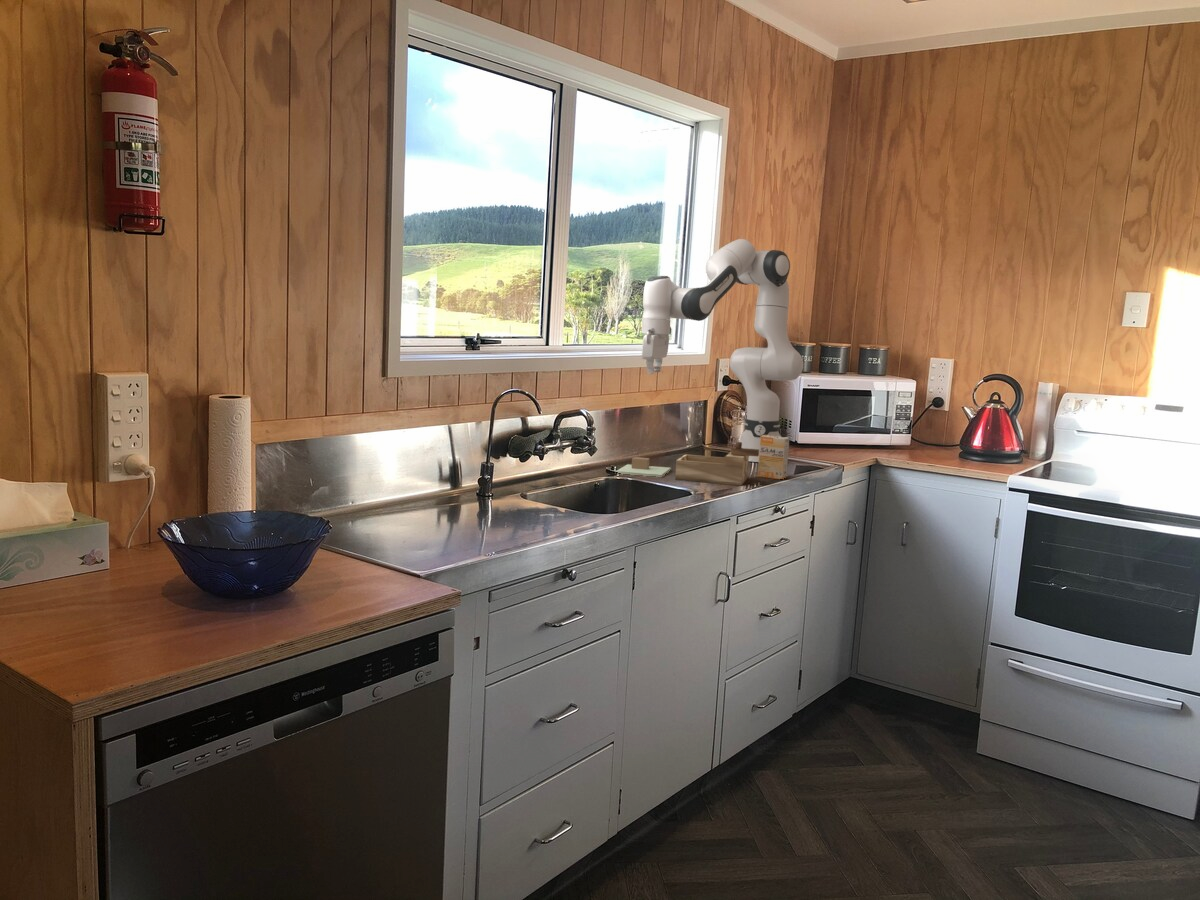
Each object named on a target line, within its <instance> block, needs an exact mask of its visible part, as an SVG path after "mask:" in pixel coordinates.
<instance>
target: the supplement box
mask: <svg viewBox="0 0 1200 900" xmlns="http://www.w3.org/2000/svg"><path fill="white" fill-rule="evenodd" d="M789 447H790V437H785V436H781V437H779V436H770V435H762V436H761V438H760V451H759V462H758V467H757V477H758V478H764V479H773V480H780V479H783V480H785V479H786V478H787V474H788V471H787V470H788V464H789V463H788V462H789V449H790V448H789ZM784 478H785V479H784Z"/></svg>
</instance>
